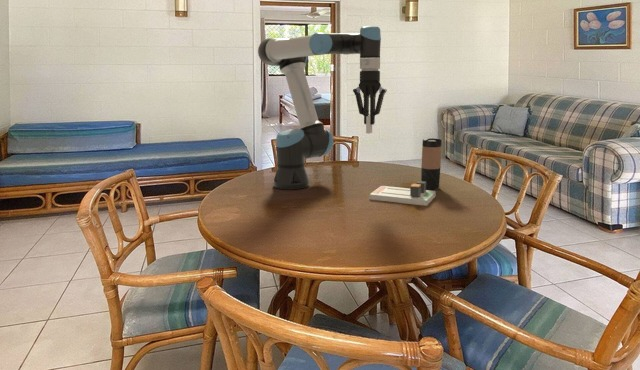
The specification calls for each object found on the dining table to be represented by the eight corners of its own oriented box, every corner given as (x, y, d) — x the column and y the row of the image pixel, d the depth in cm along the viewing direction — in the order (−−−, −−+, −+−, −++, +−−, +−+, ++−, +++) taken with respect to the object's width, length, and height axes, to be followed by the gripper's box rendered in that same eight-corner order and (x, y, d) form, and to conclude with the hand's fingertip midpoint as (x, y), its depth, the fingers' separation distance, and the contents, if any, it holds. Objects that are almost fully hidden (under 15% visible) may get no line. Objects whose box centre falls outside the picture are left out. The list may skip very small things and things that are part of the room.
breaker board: (369, 199, 186) (369, 184, 185) (381, 190, 198) (381, 176, 197) (426, 205, 177) (427, 190, 175) (435, 196, 189) (436, 181, 187)
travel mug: (439, 190, 197) (442, 141, 192) (420, 189, 198) (422, 141, 194) (439, 185, 204) (441, 138, 199) (420, 185, 206) (422, 138, 201)
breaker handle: (410, 195, 181) (410, 185, 180) (412, 193, 184) (413, 183, 183) (418, 196, 180) (418, 186, 179) (420, 194, 183) (421, 184, 182)
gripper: (349, 70, 181) (349, 133, 187) (383, 70, 175) (382, 135, 181) (357, 69, 187) (357, 130, 193) (389, 69, 182) (388, 132, 188)
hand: (369, 132), depth 187 cm, fingers closed
